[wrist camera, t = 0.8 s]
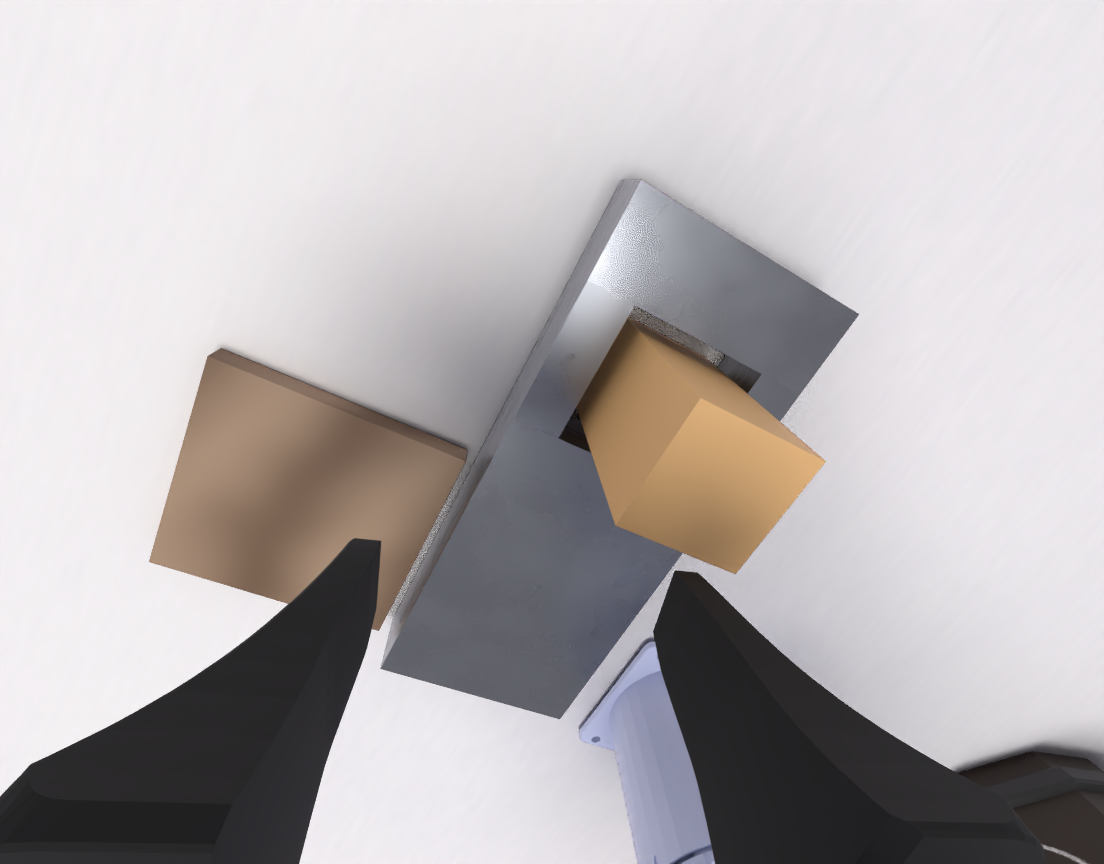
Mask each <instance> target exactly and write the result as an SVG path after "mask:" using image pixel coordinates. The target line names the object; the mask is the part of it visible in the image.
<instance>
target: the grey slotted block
mask: <svg viewBox="0 0 1104 864" xmlns="http://www.w3.org/2000/svg"><path fill="white" fill-rule="evenodd" d="M634 306H637V307H639V308H640V309H642V310H644V311H646V312H648V313H650V314H651V315H653V316H655V317H657V318H659V319H661V320H663V321H664V322H666V323H668V324H670V325H672V326H674V327H676V328H677V329H679V330H681V331H683V332H685V333H687V334H688V335H690V336H692V337H694V338H696V339H698V340H700V341H701V342H703V343H705V344H707V345H709V346H711V347H713V348H714V349H716V350H718V351H720V352H722V353H724V354H725V355H726V356H725V357H724V359H723V360H722V362H721V363H720V365H719V366H718V369H719V370H721V371H722V372H723V373H724V374H725V375H726V376H728V377H729V378H730V379H731V380H732V381H733V382H735V383H736V384H737V385H738V386H739V387H740V388H741V389H743V390H744V391H745V392H746V393H747V394H748V395H750V396H751V397H752V398H753V399H754V400H755V401H757V402H758V403H759V404H760V405H761V406H762V407H763V408H765V409H766V410H767V411H768V412H769V413H770V414H772V415H773V416H774V417H775V418H776V419H777V420H779V421H781V419H782V418H783V417H784V415H785V414H786V413H787V411H788V410H789V408H790V407H791V406H792V404H793V403H794V402H795V400H796V399H797V398H798V396H799V395H800V394H801V392H802V391H803V390H804V388H805V387H806V385H807V384H808V383H809V381H810V380H811V379H812V377H813V376H814V375H815V373H816V372H817V371H818V369H819V368H820V367H821V365H822V364H823V362H824V361H825V360H826V358H827V357H828V356H829V354H830V353H831V352H832V350H833V349H834V348H835V346H836V345H837V344H838V342H839V341H840V339H841V338H842V337H843V335H844V334H845V333H846V331H847V330H848V329H849V327H850V326H851V325H852V323H853V322H854V321H855V319H856V318H857V316H858V315H859V314H858V313H856V312H855V311H853V310H851V309H850V308H848V307H847V306H845V305H843V304H842V303H840V302H838V301H837V300H835V299H834V298H832V297H830V296H829V295H827V294H826V293H824V292H822V291H821V290H819V289H817V288H816V287H814V286H813V285H811V284H809V283H808V282H806V281H805V280H803V279H801V278H800V277H798V276H796V275H795V274H793V273H792V272H790V271H788V270H787V269H785V268H783V267H782V266H780V265H779V264H777V263H775V262H774V261H772V260H771V259H769V258H767V257H766V256H764V255H762V254H761V253H759V252H758V251H756V250H754V249H753V248H751V247H749V246H748V245H746V244H745V243H743V242H741V241H740V240H738V239H737V238H735V237H733V236H732V235H730V234H728V233H727V232H725V231H724V230H722V229H720V228H719V227H717V226H716V225H714V224H712V223H711V222H709V221H707V220H706V219H704V218H703V217H701V216H699V215H698V214H696V213H694V212H693V211H691V210H690V209H688V208H686V207H685V206H683V205H682V204H680V203H678V202H677V201H675V200H673V199H672V198H670V197H669V196H667V195H665V194H664V193H662V192H661V191H659V190H657V189H656V188H654V187H652V186H651V185H649V184H648V183H646V182H644V181H643V180H621V181H620V183H619V185H618V187H617V189H616V191H615V193H614V195H613V196H612V198H611V200H610V202H609V204H608V206H607V208H606V210H605V212H604V214H603V216H602V218H601V220H600V221H599V223H598V225H597V227H596V229H595V231H594V233H593V235H592V237H591V239H590V241H589V243H588V245H587V246H586V248H585V250H584V252H583V254H582V256H581V258H580V260H579V262H578V264H577V266H576V268H575V269H574V271H573V273H572V275H571V277H570V279H569V281H568V283H567V285H566V287H565V289H564V291H563V293H562V294H561V296H560V298H559V300H558V302H557V304H556V306H555V308H554V310H553V312H552V314H551V316H550V318H549V319H548V321H547V323H546V325H545V327H544V329H543V331H542V333H541V335H540V337H539V339H538V341H537V342H536V344H535V346H534V348H533V350H532V352H531V354H530V356H529V358H528V360H527V362H526V364H525V366H524V367H523V369H522V371H521V373H520V375H519V377H518V379H517V381H516V383H515V385H514V387H513V389H512V390H511V392H510V394H509V396H508V398H507V400H506V402H505V404H504V406H503V408H502V410H501V412H500V414H499V415H498V417H497V419H496V421H495V423H494V425H493V427H492V429H491V431H490V433H489V435H488V437H487V439H486V440H485V442H484V444H483V446H482V448H481V450H480V452H479V454H478V456H477V458H476V460H475V462H474V463H473V465H472V467H471V469H470V471H469V473H468V475H467V477H466V479H465V481H464V483H463V485H462V487H461V488H460V490H459V492H458V494H457V496H456V498H455V500H454V502H453V504H452V506H451V508H450V510H449V512H448V513H447V515H446V517H445V519H444V521H443V523H442V525H441V527H440V529H439V531H438V533H437V535H436V536H435V538H434V540H433V542H432V544H431V546H430V548H429V550H428V552H427V554H426V556H425V558H424V560H423V561H422V563H421V565H420V567H419V569H418V571H417V573H416V575H415V577H414V579H413V581H412V583H411V585H410V586H409V588H408V590H407V592H406V594H405V596H404V598H403V600H402V602H401V604H400V606H399V608H398V609H397V611H396V613H395V615H394V617H393V620H392V624H391V628H390V632H389V636H388V640H387V644H386V648H385V652H384V656H383V660H382V664H381V668H380V669H383V670H387V671H390V672H394V673H397V674H401V675H404V676H408V677H412V678H415V679H419V680H422V681H426V682H429V683H433V684H436V685H440V686H444V687H447V688H451V689H454V690H458V691H461V692H465V693H468V694H472V695H476V696H479V697H483V698H486V699H490V700H493V701H497V702H500V703H504V704H508V705H511V706H515V707H518V708H522V709H525V710H529V711H532V712H536V713H540V714H543V715H547V716H550V717H554V718H557V719H560V718H561V717H562V716H563V714H564V713H565V712H566V710H567V709H568V707H569V706H570V705H571V703H572V702H573V701H574V699H575V698H576V697H577V695H578V694H579V693H580V691H581V690H582V689H583V687H584V686H585V684H586V683H587V682H588V680H589V679H590V678H591V676H592V675H593V674H594V672H595V671H596V670H597V668H598V667H599V666H600V664H601V663H602V661H603V660H604V659H605V657H606V656H607V655H608V653H609V652H610V651H611V649H612V648H613V647H614V645H615V644H616V643H617V641H618V640H619V638H620V637H621V636H622V634H623V633H624V632H625V630H626V629H627V628H628V626H629V625H630V624H631V622H632V621H633V620H634V618H635V617H636V615H637V614H638V613H639V611H640V610H641V609H642V607H643V606H644V605H645V603H646V602H647V601H648V599H649V598H650V597H651V595H652V594H653V592H654V591H655V590H656V588H657V587H658V586H659V584H660V583H661V582H662V580H663V579H664V578H665V576H666V575H667V574H668V572H669V571H670V569H671V568H672V567H673V565H674V564H675V563H676V561H677V560H678V559H679V557H680V556H681V555H682V552H679V551H677V550H675V549H672V548H670V547H667V546H665V545H662V544H660V543H657V542H655V541H652V540H650V539H647V538H645V537H642V536H640V535H638V534H635V533H633V532H630V531H628V530H625V529H623V528H620V527H618V526H615V523H614V520H613V517H612V514H611V511H610V508H609V505H608V501H607V498H606V495H605V492H604V489H603V486H602V483H601V480H600V477H599V474H598V471H597V468H596V465H595V462H594V459H593V456H592V453H591V450H590V447H589V444H588V441H587V438H586V435H585V432H584V429H583V426H582V423H581V421H580V420H578V419H576V418H574V417H571V415H572V414H573V412H574V410H575V408H576V407H577V405H578V403H579V401H580V400H581V398H582V396H583V395H584V393H585V391H586V389H587V388H588V386H589V384H590V382H591V381H592V379H593V377H594V375H595V374H596V372H597V370H598V368H599V367H600V365H601V363H602V362H603V360H604V358H605V356H606V355H607V353H608V351H609V349H610V348H611V346H612V344H613V342H614V341H615V339H616V337H617V336H618V334H619V332H620V330H621V329H622V327H623V325H624V323H625V322H626V320H627V318H628V316H629V315H630V313H631V311H632V309H633V308H634Z"/></svg>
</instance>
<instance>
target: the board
mask: <svg viewBox="0 0 1104 864" xmlns="http://www.w3.org/2000/svg"><path fill="white" fill-rule="evenodd" d="M466 457H467V450H466V449H463V448H461V447H458V446H456V445H454V444H451V443H449V442H446V441H444V440H441V439H439V438H437V437H434V436H432V435H429V434H427V433H425V432H422V431H420V430H417V429H415V428H412V427H410V426H408V425H405V424H403V423H400V422H398V421H395V420H393V419H391V418H388V417H386V416H383V415H381V414H379V413H376V412H374V411H371V410H369V409H366V408H364V407H362V406H359V405H357V404H354V403H352V402H349V401H347V400H345V399H342V398H340V397H337V396H335V395H333V394H330V393H328V392H325V391H323V390H320V389H318V388H316V387H313V386H311V385H308V384H306V383H303V382H301V381H299V380H296V379H294V378H291V377H289V376H287V375H284V374H282V373H279V372H277V371H274V370H272V369H270V368H267V367H265V366H262V365H260V364H257V363H255V362H253V361H250V360H248V359H245V358H243V357H241V356H238V355H236V354H233V353H231V352H228V351H226V350H224V349H219V350H217V351H216V352H214V353H212V354H211V355H209V356H208V357H207V360H206V364H205V367H204V371H203V374H202V378H201V381H200V385H199V388H198V392H197V395H196V399H195V402H194V406H193V409H192V413H191V416H190V420H189V423H188V427H187V430H186V434H185V437H184V441H183V444H182V448H181V451H180V455H179V458H178V462H177V465H176V469H175V472H174V476H173V479H172V483H171V486H170V490H169V493H168V497H167V500H166V504H165V507H164V511H163V514H162V518H161V521H160V525H159V528H158V532H157V535H156V539H155V542H154V546H153V549H152V553H151V556H150V560H149V562H151V563H154V564H158V565H161V566H164V567H168V568H171V569H174V570H178V571H181V572H184V573H188V574H191V575H194V576H198V577H201V578H204V579H208V580H211V581H214V582H218V583H221V584H224V585H228V586H231V587H234V588H237V589H241V590H244V591H247V592H251V593H254V594H257V595H261V596H264V597H267V598H271V599H274V600H277V601H281V602H284V603H287V604H289V603H290V602H291V601H293V600H294V599H295V598H296V597H297V596H298V595H299V594H300V593H301V592H302V591H303V590H304V589H305V588H306V587H307V586H308V585H309V584H310V583H311V582H312V581H313V580H314V579H315V578H316V577H317V576H318V575H319V574H320V573H321V572H322V571H323V570H324V569H325V568H326V567H327V566H328V565H329V564H330V563H331V562H332V561H333V559H334V558H335V557H336V556H337V555H338V554H339V553H340V552H341V551H342V549H343V548H344V547H345V546H346V545H347V543H348V542H349V541H351V540H352V539H354V538H359V539H369V540H379V541H381V554H380V568H379V581H378V595H377V608H376V613H375V617H374V621H373V625H372V629H374V630H377V631H379V630H380V628H381V626H382V624H383V622H384V620H385V618H386V616H387V614H388V612H389V610H390V608H391V606H392V604H393V602H394V600H395V598H396V596H397V594H398V593H399V591H400V589H401V587H402V585H403V583H404V581H405V579H406V577H407V575H408V573H409V571H410V569H411V567H412V565H413V563H414V561H415V559H416V557H417V556H418V554H419V552H420V550H421V548H422V546H423V544H424V542H425V540H426V538H427V536H428V534H429V532H430V530H431V528H432V526H433V524H434V522H435V520H436V519H437V517H438V515H439V513H440V511H441V509H442V507H443V505H444V503H445V501H446V499H447V497H448V495H449V493H450V491H451V489H452V487H453V485H454V484H455V482H456V480H457V478H458V476H459V474H460V472H461V470H462V468H463V466H464V464H465V462H466Z"/></svg>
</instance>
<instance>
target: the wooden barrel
mask: <svg viewBox="0 0 1104 864" xmlns="http://www.w3.org/2000/svg"><path fill="white" fill-rule="evenodd" d="M958 774H960V775H962V776H964V777H966V778H968V779H969V780H971V781H973V782H975V783H977V784H979V785H981V786H983V787H985V788H987V789H988V790H990V791H992V792H994V793H996V794H998V795H1000V796H1002V797H1003V798H1004V799H1005V800H1006V801H1007V803H1008V804H1009V805H1010V806H1011V807H1012V809H1013V810H1014V811H1015V812H1016V814H1017V815H1018V816H1019V817H1020V819H1021V820H1022V821H1023V822H1024V824H1025V825H1026V826H1027V827H1028V829H1029V830H1030V831H1031V832H1032V834H1033V835H1034V836H1035V837H1036V839H1037V840H1038V841H1039V842H1040V844H1041V845H1042V846H1043V848H1044V856H1045V860H1044V864H1104V771H1102V770H1101V769H1100V768H1098V767H1097V766H1096V765H1094V764H1093V763H1092V762H1090V761H1089V760H1087V759H1084V758H1077V757H1069V756H1062V755H1055V754H1048V753H1041V752H1033V751H1031V752H1028V753H1024V754H1021V755H1017V756H1014V757H1011V758H1007V759H1004V760H1000V761H997V762H994V763H990V764H987V765H983V766H980V767H977V768H973V769H970V770H966V771H963V772H960V773H958Z"/></svg>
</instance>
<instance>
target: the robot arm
mask: <svg viewBox="0 0 1104 864" xmlns="http://www.w3.org/2000/svg"><path fill="white" fill-rule="evenodd" d="M380 554H381V541H379V540H369V539H359V538H354V539H352V540H351V541H349V542H348V543H347V545H346V546H345V547H344V548H343V549H342V551H341V552H340V553H339V554H338V555H337V556H336V557H335V558H334V559H333V561H332V562H331V563H330V564H329V565H328V566H327V567H326V568H325V569H324V570H323V571H322V572H321V573H320V574H319V575H318V576H317V577H316V578H315V579H314V580H313V581H312V582H311V583H310V584H309V585H308V586H307V587H306V588H305V589H304V590H303V591H302V592H301V593H300V594H299V595H298V596H297V597H296V598H295V599H294V600H293V601H291V602H290V603H289V604H288V605H287V606H286V607H285V608H283V609H282V610H281V611H280V612H279V613H278V614H277V615H275V616H274V617H273V618H272V619H271V620H270V621H269V622H267V623H266V624H265V625H264V626H263V627H261V628H260V629H259V630H258V631H257V632H255V633H254V634H253V635H252V636H250V637H249V638H248V639H246V640H245V641H244V642H242V643H241V644H240V645H238V646H237V647H236V648H234V649H233V650H232V651H230V652H229V653H228V654H226V655H225V656H224V657H222V658H221V659H219V660H218V661H216V662H215V663H213V664H212V665H210V666H209V667H208V668H206V669H205V670H203V671H202V672H200V673H199V674H197V675H196V676H194V677H193V678H191V679H190V680H188V681H187V682H185V683H183V684H182V685H180V686H179V687H177V688H176V689H174V690H172V691H171V692H169V693H167V694H166V695H164V696H162V697H160V698H159V699H157V700H155V701H153V702H152V703H150V704H148V705H147V706H145V707H143V708H141V709H140V710H138V711H136V712H134V713H133V714H131V715H129V716H127V717H125V718H124V719H122V720H120V721H118V722H116V723H114V724H112V725H110V726H108V727H107V728H105V729H103V730H101V731H99V732H97V733H95V734H93V735H91V736H88V737H86V738H84V739H82V740H80V741H78V742H76V743H74V744H72V745H70V746H68V747H66V748H64V749H62V750H60V751H58V752H56V753H54V754H52V755H50V756H48V757H45V758H43V759H41V760H39V761H37V762H35V763H32V764H31V765H30V766H29V767H28V768H27V769H26V770H25V771H24V772H23V773H22V775H21V776H20V777H19V778H18V779H17V780H16V781H15V782H14V783H13V784H12V785H11V786H10V787H9V788H8V789H7V790H6V791H5V792H4V793H3V794H2V795H1V796H0V864H299V861H300V858H301V854H302V850H303V846H304V842H305V838H306V835H307V831H308V827H309V823H310V819H311V815H312V812H313V808H314V804H315V801H316V797H317V793H318V789H319V786H320V782H321V778H322V775H323V771H324V767H325V764H326V761H327V758H328V755H329V752H330V749H331V746H332V743H333V740H334V737H335V735H336V732H337V729H338V726H339V724H340V721H341V718H342V715H343V713H344V710H345V707H346V705H347V702H348V699H349V696H350V694H351V691H352V688H353V686H354V683H355V680H356V677H357V675H358V672H359V669H360V666H361V664H362V661H363V658H364V655H365V652H366V649H367V645H368V641H369V637H370V633H371V629H372V625H373V621H374V617H375V613H376V608H377V595H378V581H379V568H380ZM653 633H654V638H655V642H649V643H647V644H646V645H645V646H644V647H643V648H642V649H641V651H640V652H639V653H638V655H637V656H636V657H635V658H634V660H633V661H632V662H631V664H630V665H629V666H628V668H627V669H626V670H625V672H624V673H623V674H622V675H621V677H620V678H619V679H618V681H617V682H616V683H615V685H614V686H613V687H612V688H611V690H610V691H609V692H608V694H607V695H606V696H605V698H604V699H603V700H602V702H601V703H600V704H599V705H598V707H597V708H596V709H595V711H594V712H593V713H592V715H591V716H590V717H589V718H588V720H587V721H586V722H585V724H584V725H583V726H582V728H581V729H580V731H579V736H580V740H581V741H583V742H585V743H589V744H592V745H596V746H600V747H603V748H607V749H611V750H615V754H616V759H617V764H618V769H619V774H620V779H621V784H622V789H623V794H624V798H625V803H626V808H627V813H628V818H629V823H630V828H631V833H632V838H633V843H634V848H635V853H636V858H637V863H638V864H1044V860H1045V856H1044V848H1043V846H1042V845H1041V844H1040V842H1039V841H1038V840H1037V839H1036V837H1035V836H1034V835H1033V834H1032V832H1031V831H1030V830H1029V829H1028V827H1027V826H1026V825H1025V824H1024V822H1023V821H1022V820H1021V819H1020V817H1019V816H1018V815H1017V814H1016V812H1015V811H1014V810H1013V809H1012V807H1011V806H1010V805H1009V804H1008V803H1007V801H1006V800H1005V799H1004V798H1003V797H1002V796H1000V795H998V794H996V793H994V792H992V791H990V790H988V789H987V788H985V787H983V786H981V785H979V784H977V783H975V782H973V781H971V780H969V779H968V778H966V777H964V776H962V775H960V774H958V773H956V772H954V771H952V770H950V769H948V768H947V767H945V766H943V765H941V764H939V763H938V762H936V761H934V760H932V759H931V758H929V757H927V756H926V755H924V754H922V753H921V752H919V751H917V750H915V749H914V748H912V747H910V746H909V745H907V744H905V743H904V742H902V741H900V740H899V739H897V738H896V737H894V736H893V735H891V734H889V733H888V732H886V731H885V730H883V729H881V728H880V727H879V726H877V725H876V724H874V723H873V722H871V721H870V720H868V719H867V718H865V717H864V716H862V715H861V714H859V713H858V712H856V711H855V710H853V709H852V708H851V707H849V706H848V705H846V704H845V703H844V702H842V701H841V700H839V699H838V698H837V697H835V696H834V695H833V694H832V693H830V692H829V691H828V690H826V689H825V688H824V687H822V686H821V685H820V684H819V683H817V682H816V681H815V680H813V679H812V678H811V677H810V676H808V675H807V674H806V673H805V672H803V671H802V670H801V669H800V668H799V667H797V666H796V665H795V664H794V663H793V662H792V661H791V660H789V659H788V658H787V657H786V656H785V655H784V654H783V653H781V652H780V651H779V650H778V649H777V648H776V647H775V646H774V645H772V644H771V643H770V642H769V641H768V640H767V639H766V638H765V637H764V636H763V635H762V634H761V633H760V632H758V631H757V630H756V629H755V628H754V627H753V626H752V625H751V624H750V623H749V622H748V621H747V620H746V619H745V618H744V617H743V616H742V615H741V614H740V613H739V612H738V611H737V610H736V609H735V608H734V607H733V606H732V605H731V604H730V603H729V602H728V601H727V600H726V599H725V598H724V597H723V596H722V595H721V594H720V593H719V592H718V591H717V590H716V589H715V588H713V587H712V586H711V585H710V584H709V583H708V582H707V581H706V580H705V579H704V578H703V577H702V576H701V575H700V574H698V573H695V572H685V571H674V574H673V577H672V580H671V583H670V586H669V588H668V591H667V594H666V597H665V600H664V603H663V605H662V608H661V611H660V614H659V617H658V619H657V622H656V625H655V628H654V631H653Z"/></svg>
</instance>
